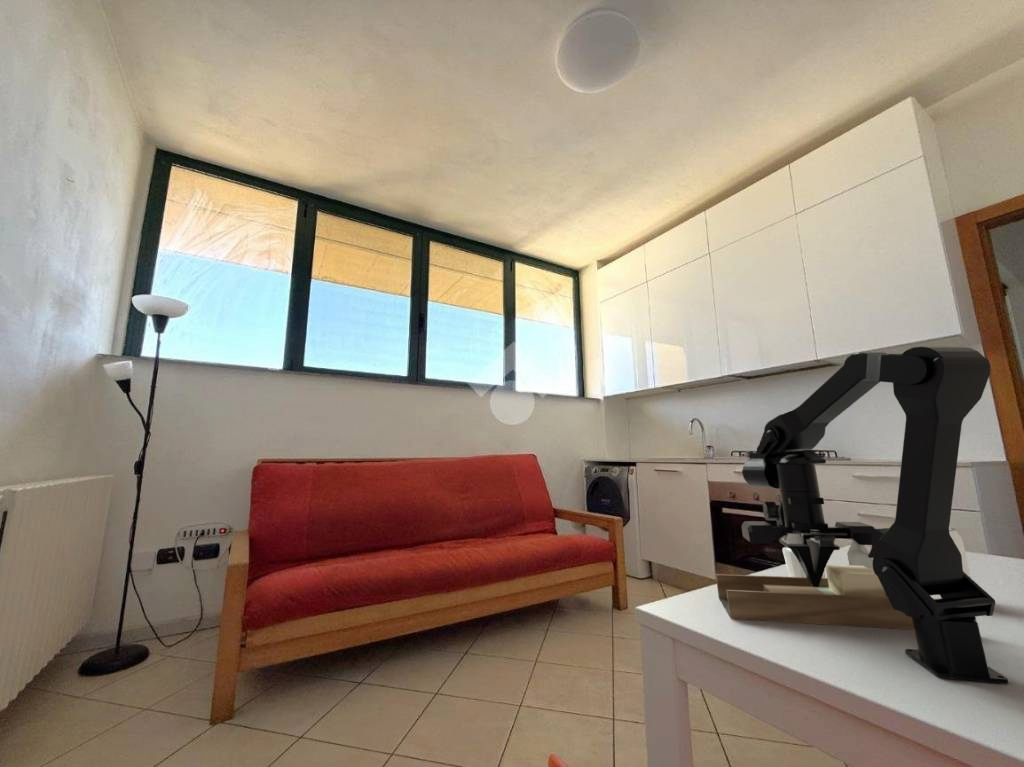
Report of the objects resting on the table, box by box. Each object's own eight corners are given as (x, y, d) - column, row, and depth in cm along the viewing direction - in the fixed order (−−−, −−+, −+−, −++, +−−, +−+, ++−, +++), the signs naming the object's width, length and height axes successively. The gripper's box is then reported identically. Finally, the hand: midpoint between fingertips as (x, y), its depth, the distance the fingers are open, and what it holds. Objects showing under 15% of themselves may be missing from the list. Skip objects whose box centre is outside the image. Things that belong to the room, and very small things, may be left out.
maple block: (887, 602, 63) (881, 574, 64) (845, 600, 65) (840, 573, 65) (867, 591, 68) (862, 565, 69) (829, 589, 70) (825, 564, 70)
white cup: (815, 581, 83) (809, 545, 85) (838, 592, 77) (831, 552, 78) (780, 581, 84) (775, 546, 85) (800, 592, 77) (794, 553, 79)
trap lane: (965, 633, 58) (958, 601, 59) (730, 618, 66) (727, 590, 67) (919, 608, 68) (913, 581, 68) (718, 598, 76) (715, 574, 77)
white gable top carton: (852, 585, 80) (843, 532, 82) (863, 578, 84) (854, 527, 86) (877, 589, 78) (866, 534, 79) (886, 582, 81) (876, 529, 83)
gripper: (840, 486, 76) (857, 575, 73) (730, 487, 81) (741, 571, 78) (873, 491, 65) (893, 595, 63) (743, 492, 71) (757, 589, 68)
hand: (814, 586), depth 68 cm, fingers closed
